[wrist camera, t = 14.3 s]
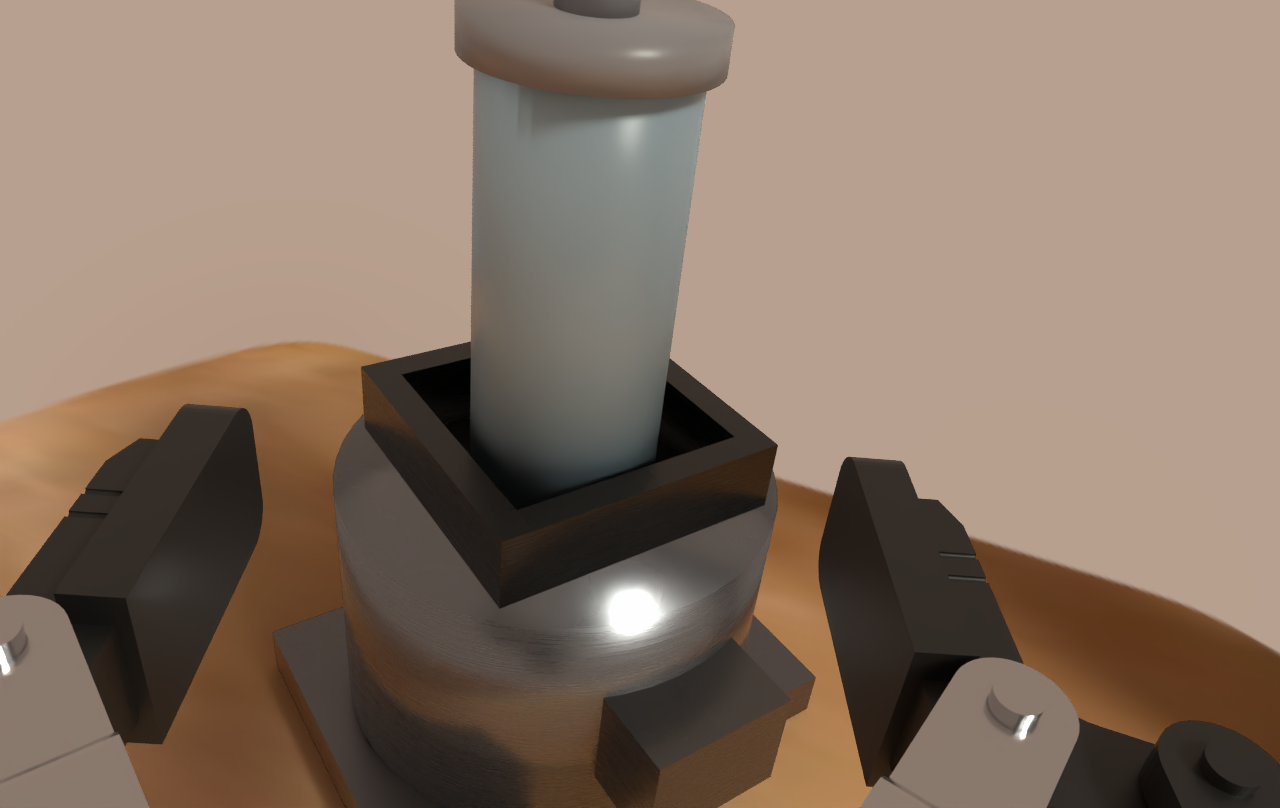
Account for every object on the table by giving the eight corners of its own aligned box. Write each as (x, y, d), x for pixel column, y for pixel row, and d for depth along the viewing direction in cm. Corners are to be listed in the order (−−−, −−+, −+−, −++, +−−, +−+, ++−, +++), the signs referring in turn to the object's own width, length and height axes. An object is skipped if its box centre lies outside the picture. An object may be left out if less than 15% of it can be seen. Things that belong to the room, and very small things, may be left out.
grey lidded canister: (594, 391, 30) (640, -98, 23) (709, 496, 27) (807, -48, 19) (419, 440, 27) (405, -105, 20) (520, 566, 24) (549, -47, 16)
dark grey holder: (621, 516, 40) (650, 267, 34) (872, 776, 30) (974, 498, 24) (267, 644, 32) (223, 356, 26) (457, 1037, 23) (456, 732, 17)
